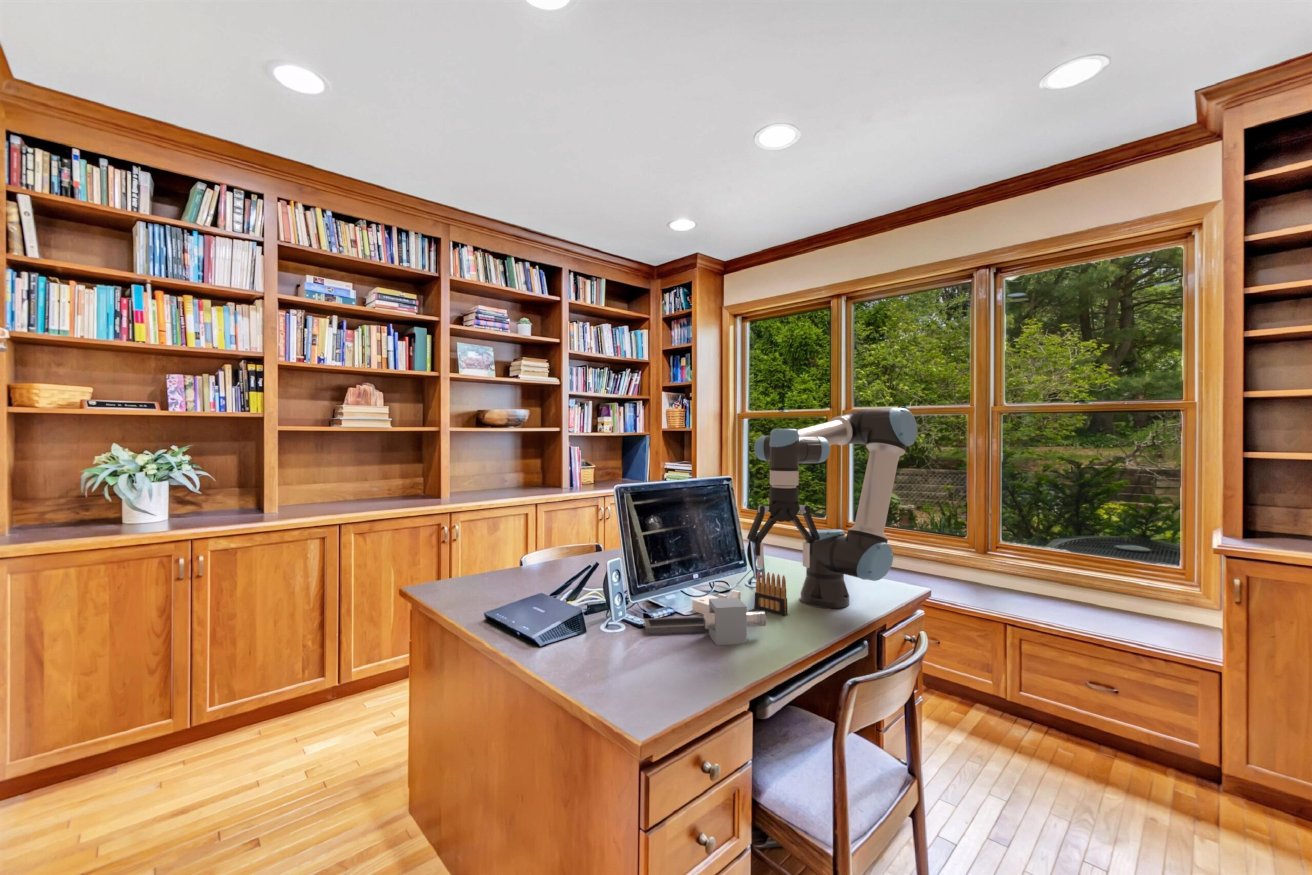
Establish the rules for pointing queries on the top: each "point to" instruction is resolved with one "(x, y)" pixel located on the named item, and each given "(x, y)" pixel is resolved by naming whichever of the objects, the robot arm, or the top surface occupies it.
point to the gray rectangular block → (728, 621)
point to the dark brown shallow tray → (674, 625)
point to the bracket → (703, 603)
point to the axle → (752, 619)
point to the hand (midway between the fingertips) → (783, 567)
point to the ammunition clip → (771, 595)
